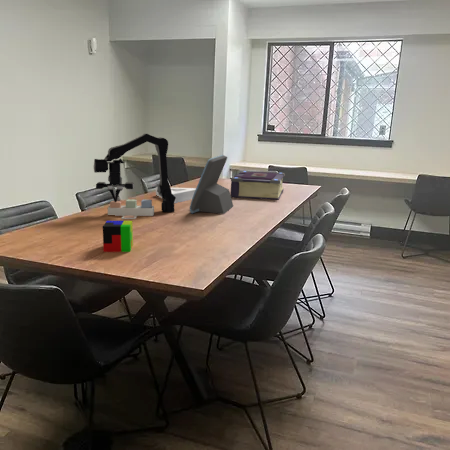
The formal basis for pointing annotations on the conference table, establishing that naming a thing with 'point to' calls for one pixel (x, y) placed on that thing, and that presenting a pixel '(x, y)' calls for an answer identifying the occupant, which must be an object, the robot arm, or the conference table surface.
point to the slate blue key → (146, 204)
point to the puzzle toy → (117, 236)
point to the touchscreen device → (211, 189)
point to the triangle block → (181, 194)
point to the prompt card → (129, 217)
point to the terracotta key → (115, 204)
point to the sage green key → (131, 203)
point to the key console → (131, 211)
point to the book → (257, 185)
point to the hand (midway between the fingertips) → (115, 201)
